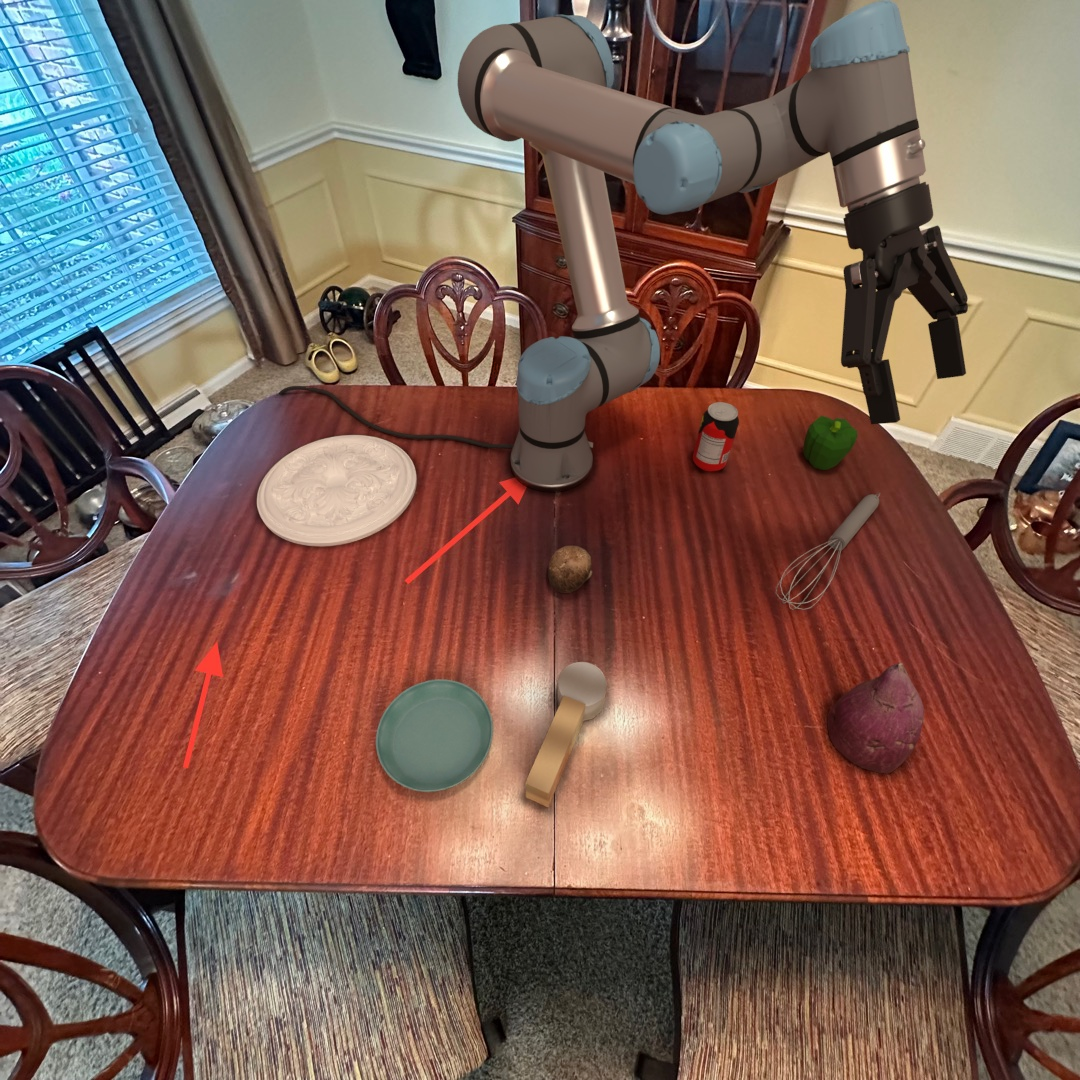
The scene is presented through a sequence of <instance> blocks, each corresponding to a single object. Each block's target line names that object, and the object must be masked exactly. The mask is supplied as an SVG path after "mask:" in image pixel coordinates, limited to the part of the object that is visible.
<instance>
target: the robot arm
mask: <svg viewBox="0 0 1080 1080" xmlns="http://www.w3.org/2000/svg"><path fill="white" fill-rule="evenodd" d="M902 21H903V20H902V17H901V12H900V8H899V7H898V4H896V2H894V1H892V0H877V1H874V2H871V3H868V4H866V5H864V6H862V7H859V8H858V9H855V10H854V11H852V12H850V13H847V14H846V15H844V16H843V17H841V18H840V19H838V20H836V21H835V22H833V23H832V24H830V25H829V26H828V27H826V28H825V29H823V30H822V31H821V33H820V34H819V35H817V37H815V38H814V40H813V41H812V42H811V45H810V48H809V57H810V63H809V66H810V69H811V70H809V71H807V72H806V73H805V74H804V75H803V76H802V77H800V78H799V79H798V80H796V81H795V82H792V83H791V84H790V85H788V86H786V87H785V88H784V89H782V90H780V91H779V92H777V93H775V94H774V95H772V96H770V97H768V98H766V99H762V100H760V101H755V102H752V103H748V104H745V105H741V106H738V107H734V108H729V109H724V110H721V111H717V112H713V113H710V114H705V115H704V114H703V115H702V114H696V113H692V112H689V111H686V110H683V109H678V108H674V107H672V106H669V105H666V104H663V103H660V102H657V101H653V100H650V99H648V98H647V99H646V98H644V97H640V96H637V95H633V94H630V93H626V92H623V91H620V90H617V89H613V88H612V87H611V86H612V85H613V84H614V74H615V73H614V72H615V71H614V61H613V56H612V52H611V48H610V46H609V44H608V41H607V39H606V37H605V35H604V33H603V31H601V29H600V28H599V27H598V25H596V24H595V23H593V22H592V20H591V19H589V18H588V17H586V16H584V15H583V16H582V15H578V14H575V15H567V14H555V15H553V16H548V17H547V16H546V17H542V18H537V19H531V20H530V19H529V20H524V21H519V22H512V23H501V24H496V25H493V26H489V27H488V28H485V29H483V30H482V31H481V32H479V33H478V34H477V35H476V36H475V37H473V38H472V40H471V41H470V42H469V43H468V45H467V47H466V48H465V50H464V52H463V54H462V55H461V59H460V61H459V65H458V71H457V91H458V92H457V93H458V96H459V97H458V98H459V100H460V103H461V106H462V109H463V111H464V113H465V114H466V116H467V117H468V119H469V120H470V122H471V123H472V124H473V125H474V126H476V128H477V129H479V130H480V131H481V132H483V133H485V134H486V135H489V136H491V137H492V138H493V137H494V138H496V139H498V140H500V141H502V142H503V141H504V142H509V143H510V142H516V141H518V140H521V139H523V140H525V141H527V142H528V145H529V146H530V147H531V148H533V149H535V150H536V151H537V152H538V153H540V155H541V157H542V160H543V165H544V170H545V174H546V179H547V183H548V187H549V193H550V196H551V201H552V205H553V209H554V214H555V219H556V223H557V227H558V232H559V237H560V240H561V245H562V251H563V254H564V259H565V263H566V268H567V272H568V276H569V281H570V285H571V290H572V294H573V298H574V304H575V308H576V313H577V316H576V319H575V320H574V322H573V323H572V324H571V325H572V326H571V332H572V335H573V337H571V336H565V335H564V336H561V335H560V336H558V337H557V338H555V337H554V336H550V337H546V338H542V339H540V340H538V341H536V342H534V343H532V344H530V345H529V346H528V347H527V348H526V349H525V350H524V351H523V353H522V354H521V356H520V358H519V360H518V363H517V375H516V389H517V390H516V391H517V404H518V426H519V427H518V428H519V430H518V433H517V435H516V438H515V441H514V444H508V443H507V444H505V443H487V442H482V441H478V440H474V439H471V438H466V437H462V436H457V435H451V434H411V433H404V432H398V431H393V430H390V429H387V428H384V427H381V426H378V425H376V424H374V423H372V422H369V421H368V420H366V419H365V418H363V417H362V416H360V415H359V414H357V412H355V411H354V410H353V409H351V408H350V407H349V406H347V405H345V403H344V402H342V401H341V400H340V399H339V398H338V397H337V396H336V395H335V394H333V393H331V392H330V391H328V390H325V389H321V388H317V387H313V386H312V388H306V387H308V386H305V385H290V386H287V387H284V388H282V389H281V390H280V391H278V395H279V396H283V395H284V394H285V393H287V392H290V391H295V390H296V391H297V390H298V391H300V390H301V391H309V392H314V393H319V394H321V395H325V396H328V397H329V398H331V399H332V400H334V402H335V403H336V404H337V405H339V406H340V407H341V408H342V409H343V410H345V412H347V413H349V414H350V415H352V417H354V418H355V419H356V420H357V421H359V422H360V423H362V424H364V425H366V427H369V428H371V429H373V430H376V431H378V432H380V433H383V434H386V435H390V436H393V437H398V438H405V439H412V440H413V439H414V440H450V441H451V440H453V441H458V442H463V443H467V444H470V445H472V446H473V445H474V446H477V447H482V448H487V449H509V450H511V452H510V469H511V472H512V474H513V475H514V477H515V479H517V481H519V482H520V484H523V486H525V487H528V488H529V489H533V490H536V491H539V492H546V493H556V492H557V493H558V492H565V491H568V490H571V489H575V488H576V487H578V486H580V485H581V484H583V483H584V482H585V481H586V480H587V479H588V478H589V476H590V475H591V473H592V470H593V460H594V459H593V452H592V448H594V442H592V441H589V440H588V436H587V433H586V417H587V414H588V413H590V412H591V411H594V410H596V409H597V408H599V407H602V406H603V405H605V404H607V403H609V402H612V401H614V400H615V399H617V398H619V397H622V396H624V395H626V394H629V393H632V392H634V391H636V390H638V388H640V387H641V386H642V385H644V384H646V383H648V382H649V381H650V380H651V379H653V378H652V377H653V376H654V375H655V373H656V371H657V370H658V368H659V367H658V366H659V363H660V358H661V347H660V341H659V337H658V335H657V332H656V330H655V329H652V325H651V323H650V322H649V321H648V320H646V319H645V318H643V317H640V311H639V308H637V307H636V306H634V305H633V304H631V303H630V302H629V301H628V296H627V292H626V285H625V280H624V274H623V269H622V268H623V267H622V265H621V264H622V263H621V259H620V253H619V248H618V243H617V235H616V230H615V226H614V220H613V214H612V209H611V204H610V199H609V192H608V187H607V182H606V177H605V176H606V175H605V173H606V174H608V175H611V176H613V177H615V178H618V179H620V180H623V181H625V182H628V183H630V184H633V185H634V188H635V191H636V193H637V195H638V198H639V199H641V200H642V201H643V203H644V204H645V207H646V208H647V209H648V210H650V212H653V213H655V214H658V215H666V216H667V215H672V214H676V213H686V212H690V211H692V210H695V209H697V208H699V207H701V206H703V205H706V204H708V203H710V202H713V201H716V200H718V199H721V198H724V197H726V196H729V195H732V194H736V193H741V194H744V193H745V194H746V193H750V192H753V191H755V190H758V189H761V188H763V187H765V186H770V185H772V184H773V183H775V182H776V181H777V180H778V179H781V178H782V177H783V176H786V175H788V174H789V173H791V172H793V171H795V170H797V169H799V168H801V167H803V166H805V165H806V164H808V163H810V162H812V161H814V160H816V159H818V158H819V157H823V156H825V155H827V154H829V155H830V160H831V164H832V169H833V175H834V180H835V181H834V182H835V186H836V191H837V196H838V203H839V207H840V208H842V209H844V208H846V209H847V212H846V213H845V214H844V217H843V224H844V229H845V234H846V239H847V245H848V248H849V249H851V250H853V251H855V250H859V249H860V250H861V251H862V260H860V261H856V262H853V263H850V264H847V265H845V266H844V267H843V278H844V279H843V281H844V287H845V296H844V297H845V299H844V310H843V311H844V312H843V327H842V339H841V353H840V354H841V355H840V364H841V366H842V367H843V368H847V369H853V368H857V369H858V373H859V377H860V382H861V387H862V392H863V395H864V397H865V403H866V407H867V411H868V417H869V422H870V425H881V424H897V423H898V422H899V421H901V416H900V410H899V406H898V405H899V404H898V401H897V395H896V390H895V389H896V388H895V384H894V380H893V375H892V369H891V365H890V359H889V358H887V359H883V357H884V353H885V349H886V343H887V339H888V334H889V329H890V325H891V321H892V317H893V313H894V308H895V303H896V301H897V300H898V299H900V298H901V296H902V294H903V291H905V290H908V292H910V294H911V295H912V296H913V297H914V298H915V300H916V301H917V303H918V304H919V305H921V307H922V308H923V309H924V310H925V311H926V313H927V314H928V315H929V316H930V318H931V319H932V320H934V321H930V322H929V323H927V326H928V333H929V338H930V344H931V350H932V356H933V357H932V358H933V361H934V362H933V363H934V367H935V374H936V379H937V380H941V379H943V380H944V379H950V378H957V377H958V378H959V377H964V376H965V375H966V374H967V369H966V363H965V356H964V351H963V350H964V349H963V344H962V343H963V342H962V337H961V331H960V325H959V324H960V323H959V318H958V316H959V315H963V314H967V312H968V309H969V305H968V300H969V299H968V294H967V292H966V289H965V287H964V285H963V283H962V281H961V278H960V277H959V274H958V272H957V270H956V268H955V265H954V264H953V262H952V260H951V257H950V255H949V253H948V251H947V249H946V247H945V244H944V239H943V235H942V230H941V227H940V225H938V224H937V225H934V226H931V227H927V228H926V229H923V230H922V229H920V227H922V226H924V225H926V224H927V223H929V222H931V221H932V220H933V218H934V209H933V202H932V197H931V196H932V195H931V189H930V184H929V183H927V181H923V182H921V179H920V177H921V176H924V175H925V173H926V172H927V169H926V162H925V156H924V149H925V147H926V141H925V140H924V139H923V138H922V137H921V132H920V125H919V120H918V115H917V108H916V101H915V94H914V86H913V79H912V71H911V65H910V64H911V63H910V58H909V53H910V46H909V45H908V43H907V39H906V34H905V31H904V25H903V22H902Z"/></svg>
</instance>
